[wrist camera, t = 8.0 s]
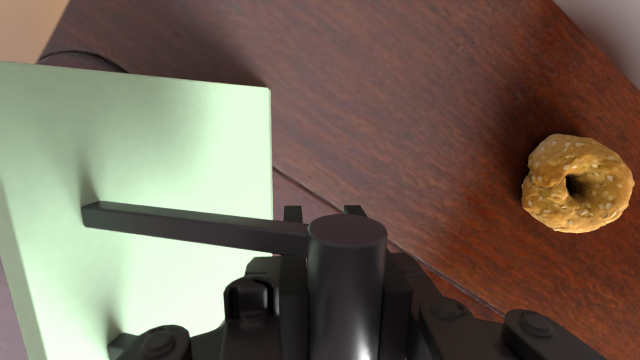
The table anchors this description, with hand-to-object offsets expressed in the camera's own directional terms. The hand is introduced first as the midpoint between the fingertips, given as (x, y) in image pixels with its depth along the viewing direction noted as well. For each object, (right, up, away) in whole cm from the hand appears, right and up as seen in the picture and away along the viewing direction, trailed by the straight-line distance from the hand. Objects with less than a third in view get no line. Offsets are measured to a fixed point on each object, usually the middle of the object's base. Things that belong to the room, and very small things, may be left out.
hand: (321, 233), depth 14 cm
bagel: (+26, +3, +20) cm, 33 cm away
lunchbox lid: (-7, +1, +2) cm, 7 cm away
